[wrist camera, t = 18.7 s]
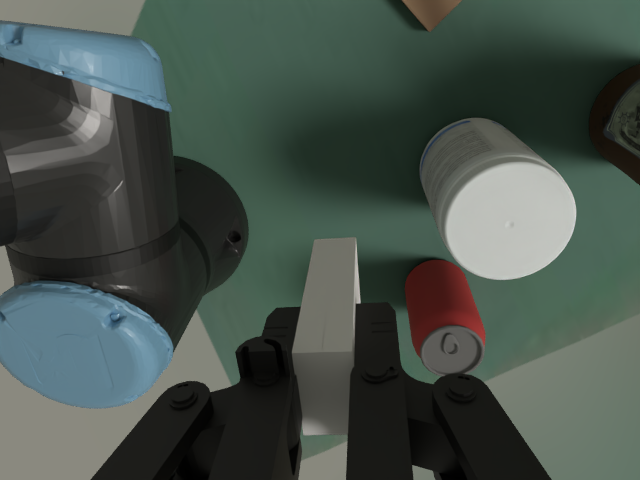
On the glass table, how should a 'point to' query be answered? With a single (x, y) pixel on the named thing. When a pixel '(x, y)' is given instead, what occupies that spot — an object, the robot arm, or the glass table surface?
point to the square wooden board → (430, 10)
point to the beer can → (444, 318)
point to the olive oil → (619, 122)
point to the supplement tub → (495, 200)
